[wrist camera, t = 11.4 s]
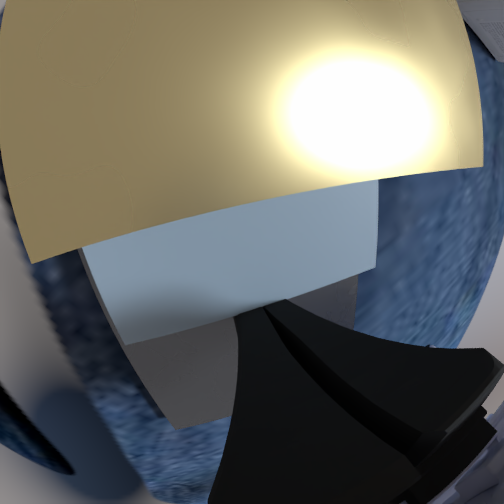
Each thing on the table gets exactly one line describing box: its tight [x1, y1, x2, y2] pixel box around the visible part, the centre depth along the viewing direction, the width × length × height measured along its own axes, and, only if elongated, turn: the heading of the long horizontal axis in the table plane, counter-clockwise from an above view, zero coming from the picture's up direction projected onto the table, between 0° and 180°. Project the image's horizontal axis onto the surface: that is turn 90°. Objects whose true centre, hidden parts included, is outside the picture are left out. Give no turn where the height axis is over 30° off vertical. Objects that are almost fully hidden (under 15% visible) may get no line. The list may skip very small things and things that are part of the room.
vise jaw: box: [82, 179, 378, 345], centre depth 8 cm, size 4×8×2 cm, turn 100°
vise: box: [78, 247, 358, 430], centre depth 8 cm, size 20×10×3 cm, turn 10°
